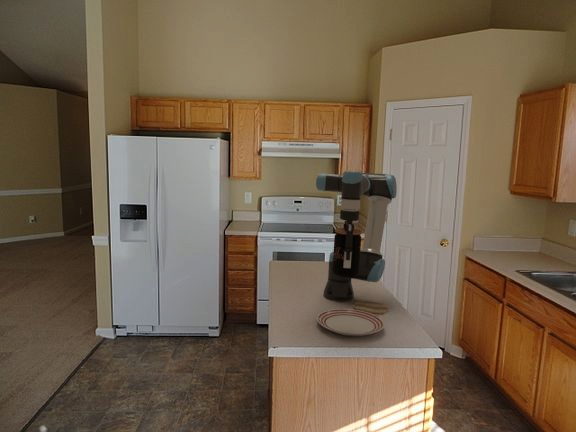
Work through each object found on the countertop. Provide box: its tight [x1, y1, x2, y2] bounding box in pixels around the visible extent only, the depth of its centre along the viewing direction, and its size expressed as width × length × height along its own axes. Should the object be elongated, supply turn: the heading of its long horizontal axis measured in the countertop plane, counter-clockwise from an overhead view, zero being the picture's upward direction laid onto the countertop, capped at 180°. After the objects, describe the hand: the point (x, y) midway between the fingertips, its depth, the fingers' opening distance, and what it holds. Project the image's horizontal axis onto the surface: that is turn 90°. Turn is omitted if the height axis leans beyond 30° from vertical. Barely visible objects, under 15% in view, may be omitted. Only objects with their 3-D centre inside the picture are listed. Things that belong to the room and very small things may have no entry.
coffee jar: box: [332, 227, 363, 277], centre depth 161 cm, size 11×11×18 cm
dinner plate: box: [316, 308, 385, 337], centre depth 164 cm, size 28×27×3 cm
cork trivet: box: [352, 300, 389, 315], centre depth 187 cm, size 16×16×1 cm
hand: (346, 264), depth 162 cm, fingers closed on coffee jar, 11 cm apart
